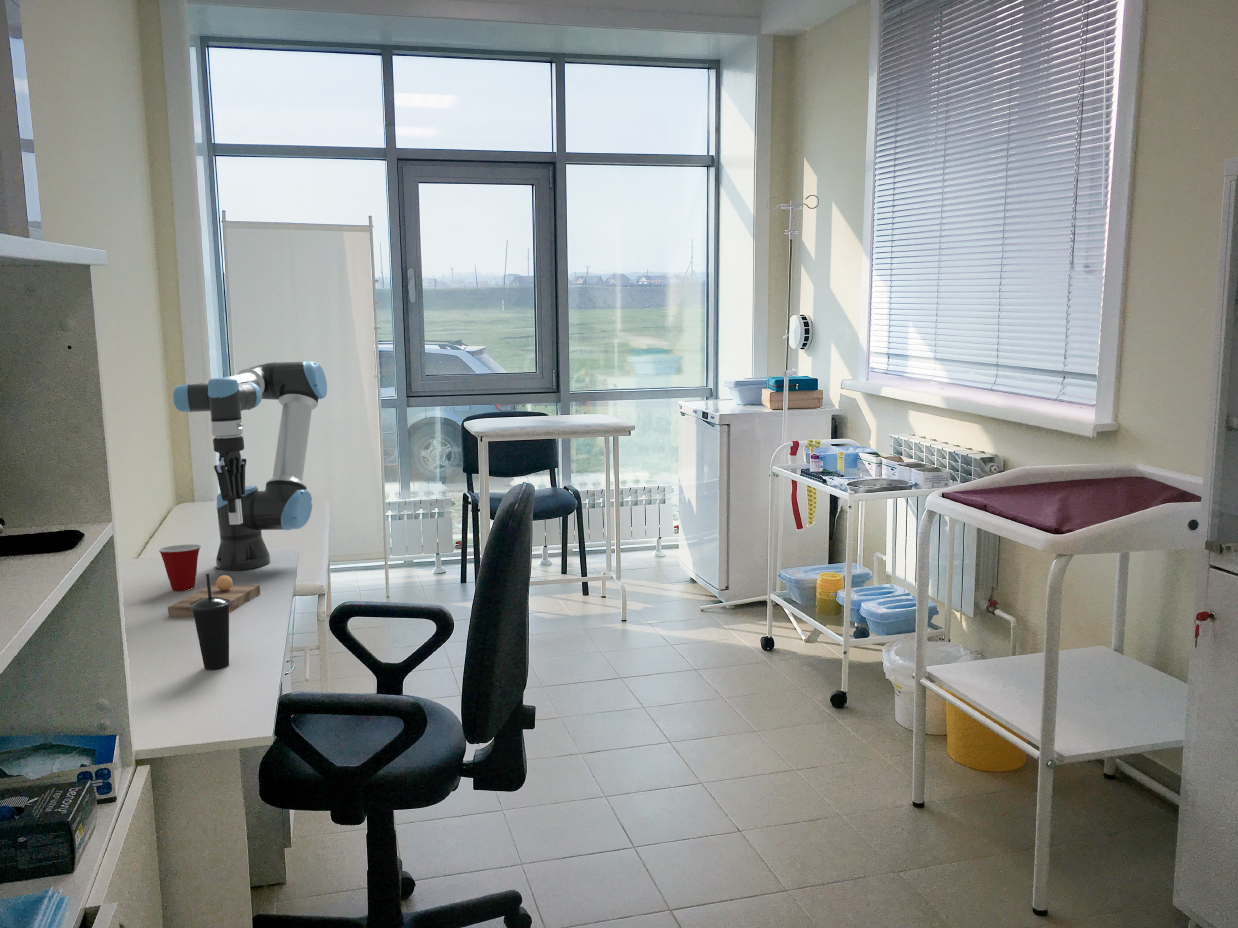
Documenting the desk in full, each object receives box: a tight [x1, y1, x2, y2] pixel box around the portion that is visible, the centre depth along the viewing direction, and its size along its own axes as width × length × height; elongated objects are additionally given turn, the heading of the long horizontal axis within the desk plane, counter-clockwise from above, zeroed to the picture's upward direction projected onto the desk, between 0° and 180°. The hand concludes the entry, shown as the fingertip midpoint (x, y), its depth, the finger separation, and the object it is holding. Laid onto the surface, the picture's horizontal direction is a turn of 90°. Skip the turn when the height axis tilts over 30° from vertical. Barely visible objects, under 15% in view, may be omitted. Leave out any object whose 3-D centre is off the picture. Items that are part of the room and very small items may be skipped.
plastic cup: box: [157, 543, 202, 592], centre depth 269 cm, size 11×11×12 cm
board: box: [167, 584, 261, 618], centre depth 252 cm, size 20×14×2 cm
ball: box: [215, 574, 233, 591], centre depth 257 cm, size 4×4×4 cm
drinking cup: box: [191, 573, 230, 671], centre depth 205 cm, size 8×8×20 cm
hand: (236, 523), depth 263 cm, fingers closed
